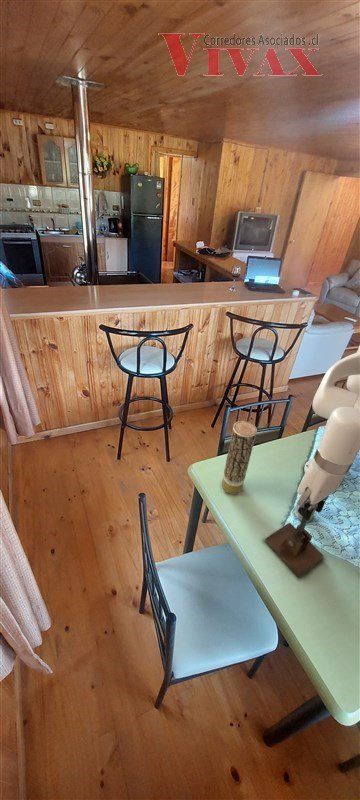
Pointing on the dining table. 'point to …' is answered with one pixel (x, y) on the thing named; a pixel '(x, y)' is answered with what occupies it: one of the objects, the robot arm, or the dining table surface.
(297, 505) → the energy drink
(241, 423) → the wooden log
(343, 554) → the dining table surface
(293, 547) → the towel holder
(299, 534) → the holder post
